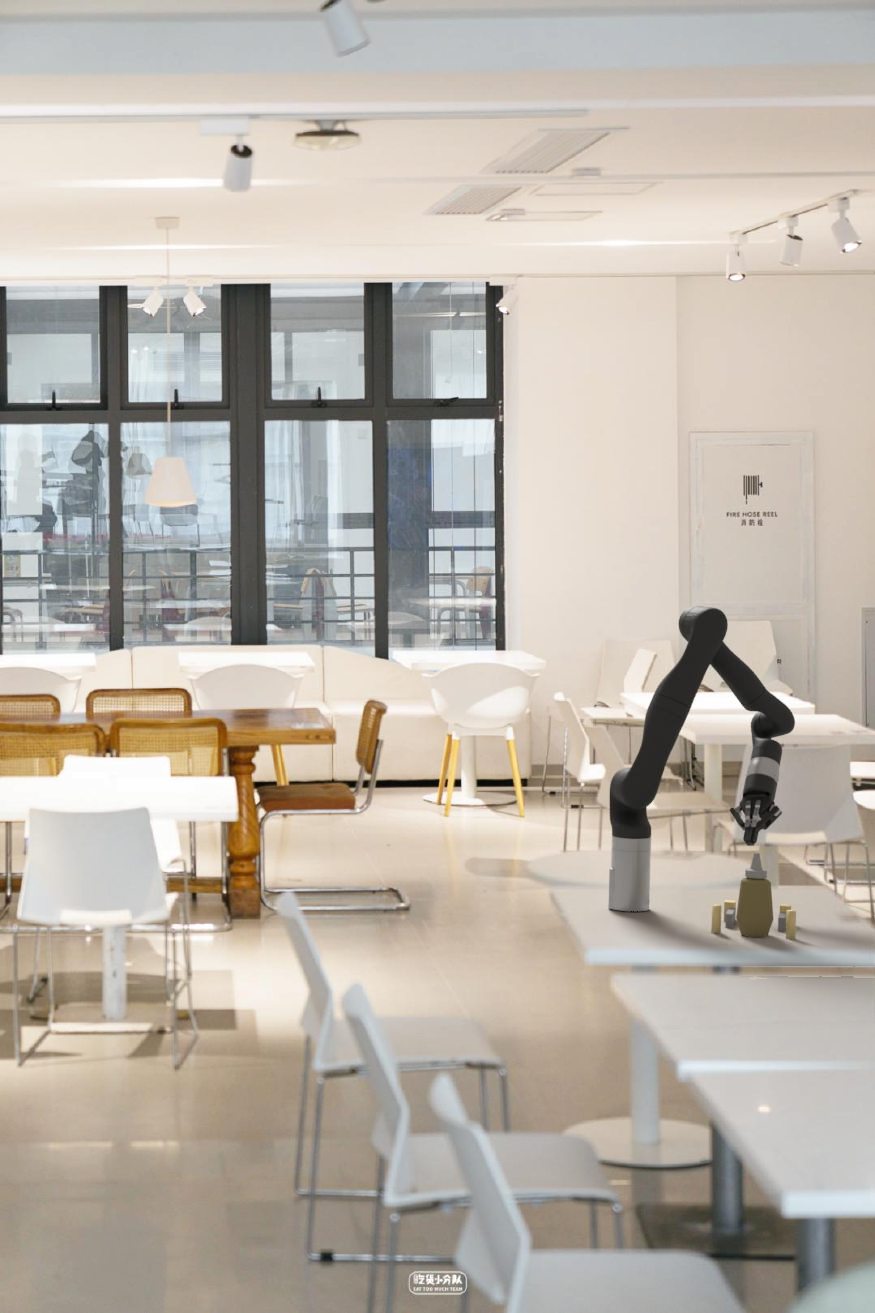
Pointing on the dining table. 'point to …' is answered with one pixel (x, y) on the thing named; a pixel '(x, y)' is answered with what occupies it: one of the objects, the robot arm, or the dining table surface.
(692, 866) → the dining table surface
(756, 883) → the squeeze bottle
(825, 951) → the dining table surface
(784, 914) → the wooden post frame
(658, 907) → the dining table surface
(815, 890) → the dining table surface
